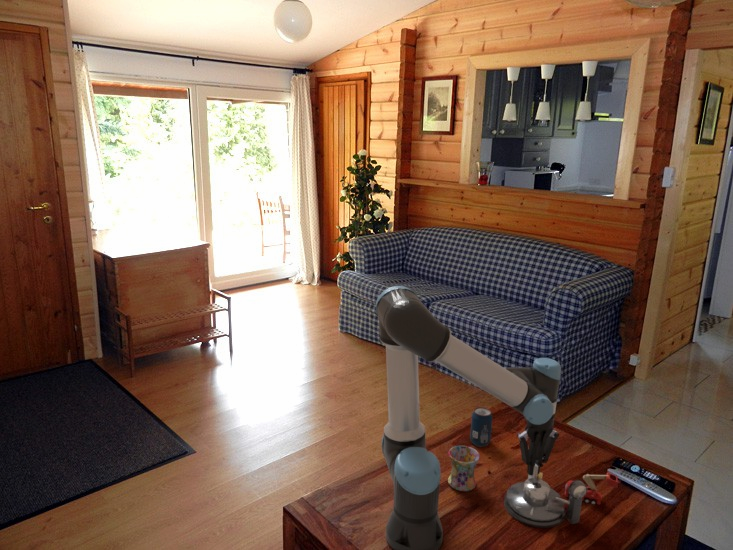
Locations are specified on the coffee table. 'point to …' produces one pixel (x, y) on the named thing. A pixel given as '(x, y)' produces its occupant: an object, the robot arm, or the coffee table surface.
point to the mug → (463, 467)
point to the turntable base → (532, 523)
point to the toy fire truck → (594, 487)
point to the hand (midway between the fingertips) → (531, 483)
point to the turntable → (532, 513)
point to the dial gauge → (574, 500)
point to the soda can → (481, 427)
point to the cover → (536, 492)
